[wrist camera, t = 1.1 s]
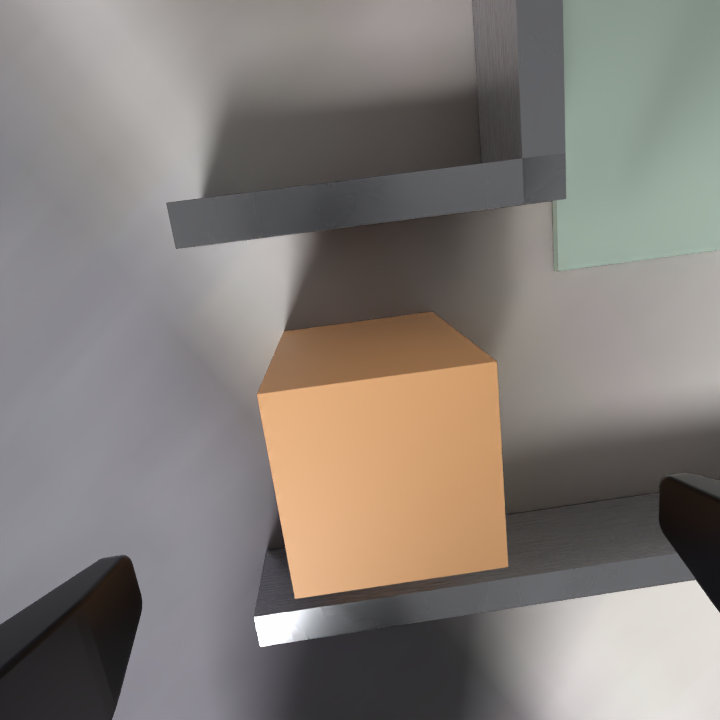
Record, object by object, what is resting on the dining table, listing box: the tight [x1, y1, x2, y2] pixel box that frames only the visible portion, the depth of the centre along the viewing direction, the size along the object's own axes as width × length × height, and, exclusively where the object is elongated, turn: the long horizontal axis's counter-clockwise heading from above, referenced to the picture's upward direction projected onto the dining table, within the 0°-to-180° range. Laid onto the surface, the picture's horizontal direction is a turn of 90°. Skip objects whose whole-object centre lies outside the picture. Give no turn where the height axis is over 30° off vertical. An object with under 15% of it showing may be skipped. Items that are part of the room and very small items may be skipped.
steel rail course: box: [166, 0, 696, 647], centre depth 14 cm, size 17×20×3 cm
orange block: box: [257, 312, 508, 599], centre depth 13 cm, size 4×4×6 cm
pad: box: [552, 0, 720, 271], centre depth 14 cm, size 8×8×1 cm
